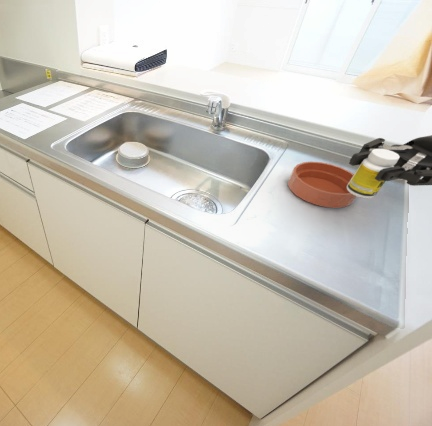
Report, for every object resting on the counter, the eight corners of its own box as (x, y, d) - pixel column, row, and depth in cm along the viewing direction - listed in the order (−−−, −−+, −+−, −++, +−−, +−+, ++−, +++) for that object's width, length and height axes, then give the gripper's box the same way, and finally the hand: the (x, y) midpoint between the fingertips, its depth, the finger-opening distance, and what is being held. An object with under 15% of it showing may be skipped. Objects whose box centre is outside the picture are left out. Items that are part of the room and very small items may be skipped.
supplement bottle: (374, 202, 53) (402, 163, 47) (344, 193, 55) (368, 155, 50) (375, 189, 56) (402, 151, 50) (347, 181, 58) (370, 144, 52)
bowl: (360, 190, 75) (369, 176, 72) (342, 217, 67) (352, 203, 64) (299, 169, 83) (306, 156, 80) (277, 191, 75) (284, 177, 72)
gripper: (414, 120, 56) (342, 131, 54) (504, 154, 46) (420, 170, 43) (391, 153, 61) (324, 165, 59) (467, 190, 51) (390, 207, 48)
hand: (365, 167), depth 51 cm, fingers closed on supplement bottle, 4 cm apart
